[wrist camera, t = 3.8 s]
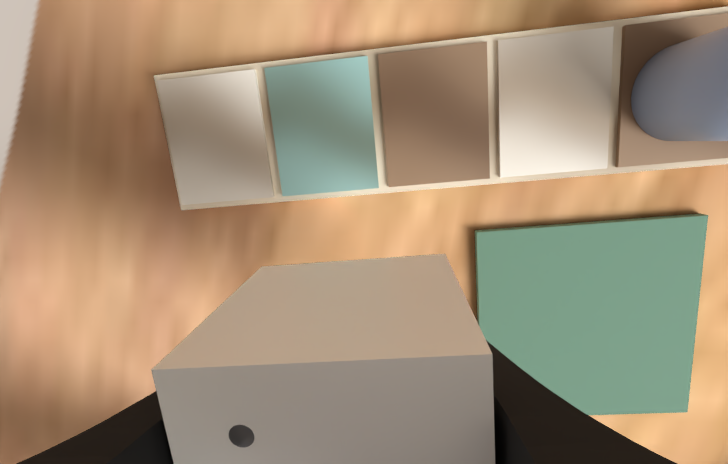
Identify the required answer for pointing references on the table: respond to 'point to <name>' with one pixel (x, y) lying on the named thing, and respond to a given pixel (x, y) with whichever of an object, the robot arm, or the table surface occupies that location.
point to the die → (334, 370)
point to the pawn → (685, 91)
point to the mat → (597, 308)
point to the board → (426, 115)
